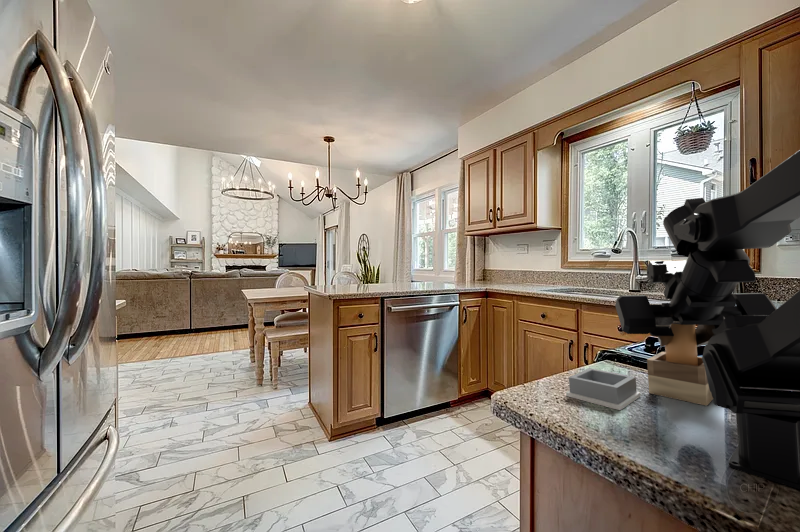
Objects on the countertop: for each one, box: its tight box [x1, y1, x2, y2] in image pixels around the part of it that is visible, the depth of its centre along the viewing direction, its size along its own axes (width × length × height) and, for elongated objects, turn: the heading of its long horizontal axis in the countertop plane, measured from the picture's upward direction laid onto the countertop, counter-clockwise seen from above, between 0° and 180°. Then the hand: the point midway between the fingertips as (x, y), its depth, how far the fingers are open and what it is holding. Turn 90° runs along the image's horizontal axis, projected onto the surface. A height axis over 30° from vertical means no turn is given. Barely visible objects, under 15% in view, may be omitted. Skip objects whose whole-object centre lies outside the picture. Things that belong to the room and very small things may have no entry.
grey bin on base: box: [565, 367, 642, 411], centre depth 56 cm, size 8×8×3 cm
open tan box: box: [646, 351, 713, 406], centre depth 55 cm, size 7×7×6 cm
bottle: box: [664, 323, 698, 366], centre depth 55 cm, size 4×4×10 cm
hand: (676, 344), depth 57 cm, fingers closed on bottle, 4 cm apart
